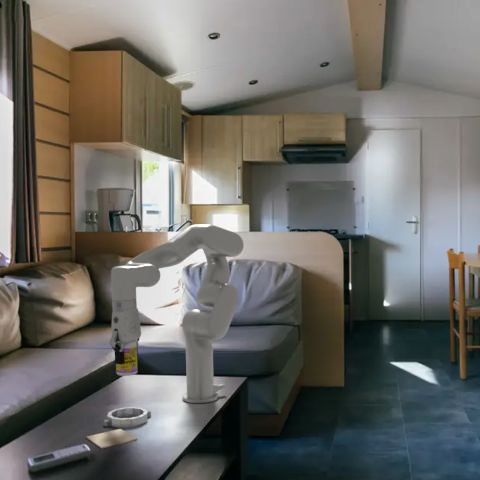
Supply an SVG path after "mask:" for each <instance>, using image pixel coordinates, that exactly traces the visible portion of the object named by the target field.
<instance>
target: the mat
mask: <svg viewBox="0 0 480 480" xmlns="http://www.w3.org/2000/svg"><path fill="white" fill-rule="evenodd" d="M85 439H87V440H88V441H90V442H91V443H93V444H94V445H95V446H96V447H99V448H100V449H105V448H110V447H113V446H118V445H122V444H126V443H129V442H133V441H137V440H138V438H137V437H135V436H134V435H132V434H131V433H129V432H127V431H125V430H123V429H122V428H118V429H114V430H110V431H105V432H101V433H95V434H93V435H88V436H86V437H85Z"/></svg>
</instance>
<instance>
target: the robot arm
mask: <svg viewBox="0 0 480 480" xmlns="http://www.w3.org/2000/svg"><path fill="white" fill-rule="evenodd" d="M244 245H245V244H244V239H243V238H242V237H241V236H240V234H238V233H236V232H233V231H232V230H228V229H225V228H222V227H220V226H217V225H213V224H192V225H190V226H187V227H186V228H184V229H183V230H181V231H180V232H178V233H177V234H175V236H173V237H172V238H170V239H169V240H167V241H165V242H164V243H161V244H159V245H157V246H155V247H152V248H150V249H148V250H146V251H145V250H144V251H143V252H141V253H140V254H137V256H134V257H133V258H132V259H130V260H128V262H126V264H124V265H118V266H117V265H116V266H113V267H112V269H111V270H110V271H111V272H110V276H111V278H110V279H111V297H112V298H111V299H112V301H111V302H112V303H111V305H112V313H111V331H110V332H111V337H110V339H109V341H108V343H109V345H110V346H111V348H112V350H113V352H114V363H115V365H116V364H124V363H125V361H124V351H123V347H124V343H127V342H130V341H135V342H136V343H137V359H139V351H138V349H139V347H138V346H139V341H140V338H141V336H142V329H141V319H140V312H139V308H138V307H137V304H138V302H137V288H151V287H153V286H156V285H157V284H158V283H159V281H160V279H161V271H160V269H164V268H170V267H174V266H177V265H179V264H181V263H182V262H184V261H185V260H186V259H188V258H189V257H190V256H192V255H193V254H194V253H196V252H197V251H198V250H202V251H203V254H204V256H205V258H206V265H207V266H206V271H205V273H204V276H203V278H202V280H201V284H200V285H199V288H198V291H197V293H196V294H197V295H196V301H197V304H198V305H199V306H200V307H203V308H205V309H199V308H196V309H195V308H194V309H190V310H188V311H187V312H186V313H185V314H184V315H183V317H182V321H181V322H182V324H181V326H182V332H183V336H184V341H185V342H184V343H185V364H186V365H185V366H186V369H185V372H186V373H185V374H186V393H184V394H183V395H182V400H183V401H184V402H186V403H190V404H204V403H206V404H207V403H211V402H214V401H215V402H216V400H218V399H219V393H218V392H219V391H222V390H225V389H226V384H224V383H221V384H218V383H214V349H213V344H212V341H211V340H221V339H222V338H223V337H225V336H226V334H227V332H228V330H229V329H230V325H231V322H232V320H233V317H234V315H235V312H236V309H237V306H238V304H239V291H238V289H237V288H236V286H234V284H231V283H228V281H229V278H230V273H231V271H230V266H229V265H230V264H229V262H228V259H227V258H234V257H237V256H239V255H240V254H241V253H242V251H243V250H244ZM208 309H211V310H208ZM119 340H120V341H119ZM118 344H120V346H119V345H118Z"/></svg>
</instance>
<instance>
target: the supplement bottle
mask: <svg viewBox="0 0 480 480" xmlns="http://www.w3.org/2000/svg"><path fill="white" fill-rule="evenodd" d="M119 341H120V340H119ZM118 345H119V346H120V344H118ZM123 351H124V361H125V363H124V364H115V367H116V368H115V371H116V374H117V375H118V376H121V377H129V376H130V377H131V376H134V375H136V374H138V369H139V368H138V358H137V343H136V342H135V341H130V342H127V343H124V347H123Z"/></svg>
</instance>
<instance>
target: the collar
mask: <svg viewBox="0 0 480 480" xmlns="http://www.w3.org/2000/svg"><path fill="white" fill-rule="evenodd" d="M151 417H152V411H150V410H147V409H145V408H143V407H138V406H130V407H128V406H127V407H119V408H116V409H113V410H111V411H108V412H107V417H106V418H107V419H104V420H103V426H105V427H114V428H119V429H122V428H133V427H139V426H142V425H144V424H145V423H147V422H148V420H149V419H148V418H151Z"/></svg>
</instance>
